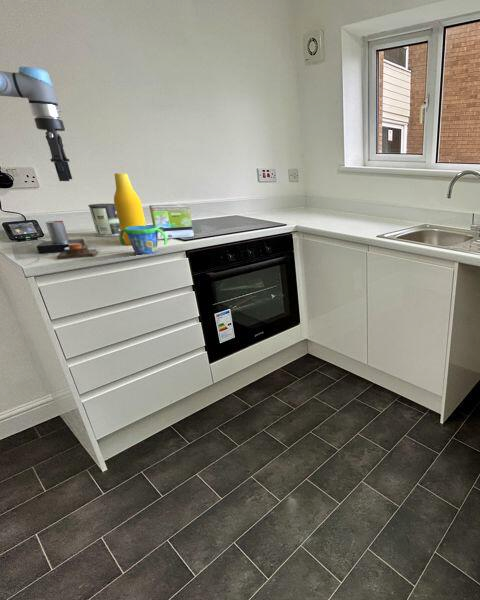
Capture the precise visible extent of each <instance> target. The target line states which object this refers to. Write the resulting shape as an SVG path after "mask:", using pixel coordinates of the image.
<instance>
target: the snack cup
mask: <svg viewBox="0 0 480 600" xmlns="http://www.w3.org/2000/svg"><path fill="white" fill-rule="evenodd" d="M124 231H125V232H126V233H127V235H128V237H129V240H130V242H131V245H130V246H132V249H133V252H134V253H135V254H136V255H139V256H141V255H153V254H157V253H158V251H159V243H158V241H159V240H158V239H157V235H158V231H159V232H160V233H161V234H162V235H163V236H164V239H163V244H164V245H165V246H167V244H168V238H167V237H166V235H165V233H164V232H163V231H162V230H161V229H158V228H157V227H156V226H153V225H147V224H146V226H131V227H126V228H125V229H124V230H122V231H121V232H120V235H118V236H119V237H118V238H119V242H120V244H121V245H122V246H125V245H126V244H125V241H124V239H123V232H124Z"/></svg>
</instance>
